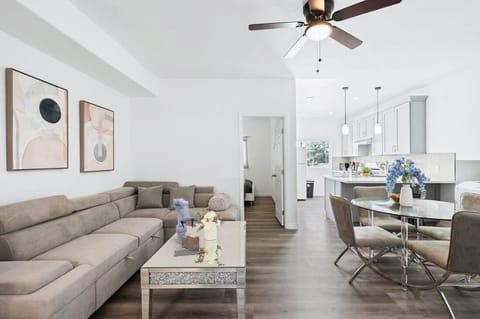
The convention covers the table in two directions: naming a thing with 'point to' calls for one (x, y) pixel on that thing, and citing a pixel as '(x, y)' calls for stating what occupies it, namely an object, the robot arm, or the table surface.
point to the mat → (185, 252)
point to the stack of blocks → (191, 242)
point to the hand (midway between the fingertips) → (188, 228)
